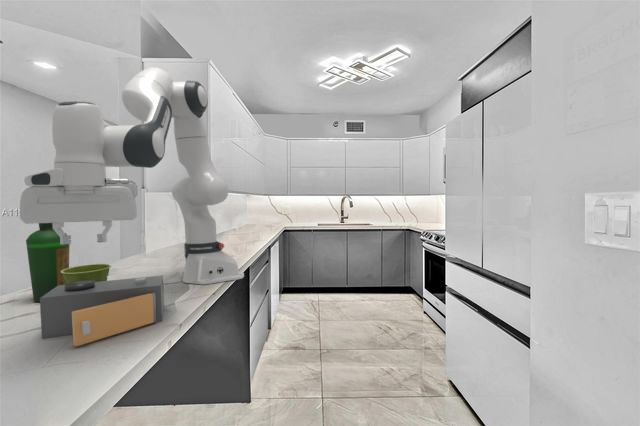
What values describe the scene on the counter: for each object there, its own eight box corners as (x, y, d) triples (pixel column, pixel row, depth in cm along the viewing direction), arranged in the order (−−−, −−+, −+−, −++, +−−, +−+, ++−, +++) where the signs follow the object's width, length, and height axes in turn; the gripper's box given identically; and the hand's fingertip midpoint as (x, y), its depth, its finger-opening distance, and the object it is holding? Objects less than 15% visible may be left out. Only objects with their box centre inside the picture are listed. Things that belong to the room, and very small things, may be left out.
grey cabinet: (164, 306, 93) (162, 271, 93) (162, 321, 82) (160, 280, 82) (60, 320, 84) (58, 280, 83) (41, 338, 73) (39, 292, 72)
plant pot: (59, 307, 95) (57, 268, 94) (107, 298, 103) (105, 262, 102) (66, 317, 86) (64, 274, 86) (118, 306, 95) (116, 267, 94)
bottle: (79, 296, 105) (74, 208, 104) (37, 306, 96) (32, 210, 95) (63, 292, 111) (59, 208, 109) (22, 300, 101) (17, 210, 100)
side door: (155, 320, 81) (153, 292, 81) (159, 322, 80) (158, 293, 80) (73, 345, 68) (71, 311, 68) (77, 348, 66) (75, 313, 66)
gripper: (138, 179, 77) (140, 238, 78) (27, 178, 69) (31, 244, 70) (135, 177, 71) (137, 241, 72) (13, 176, 63) (17, 248, 64)
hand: (84, 243), depth 71 cm, fingers open, 5 cm apart
